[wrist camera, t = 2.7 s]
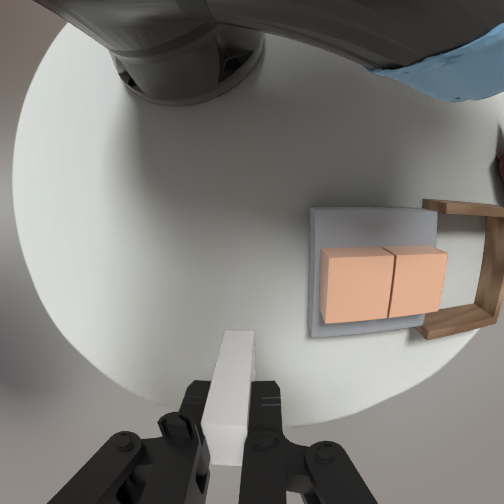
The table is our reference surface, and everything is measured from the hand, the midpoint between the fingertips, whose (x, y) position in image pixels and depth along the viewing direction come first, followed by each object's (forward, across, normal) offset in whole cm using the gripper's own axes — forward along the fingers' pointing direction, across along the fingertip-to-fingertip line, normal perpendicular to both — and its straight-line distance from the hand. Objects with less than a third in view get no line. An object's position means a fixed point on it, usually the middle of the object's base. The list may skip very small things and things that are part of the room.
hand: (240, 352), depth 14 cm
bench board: (+13, +12, 0) cm, 18 cm away
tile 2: (+10, +15, 0) cm, 18 cm away
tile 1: (+10, +9, 0) cm, 14 cm away
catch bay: (+13, +24, 0) cm, 28 cm away
